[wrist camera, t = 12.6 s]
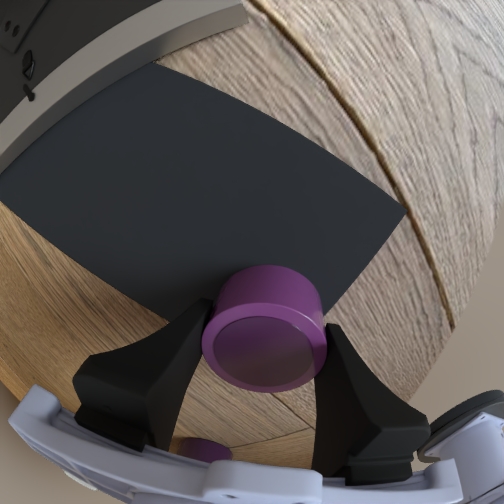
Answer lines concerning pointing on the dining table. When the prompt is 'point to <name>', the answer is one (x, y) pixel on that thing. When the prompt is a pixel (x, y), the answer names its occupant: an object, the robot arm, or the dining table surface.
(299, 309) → the plum dish
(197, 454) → the aubergine dish
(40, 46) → the picture frame
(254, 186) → the placemat
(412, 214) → the dining table surface
